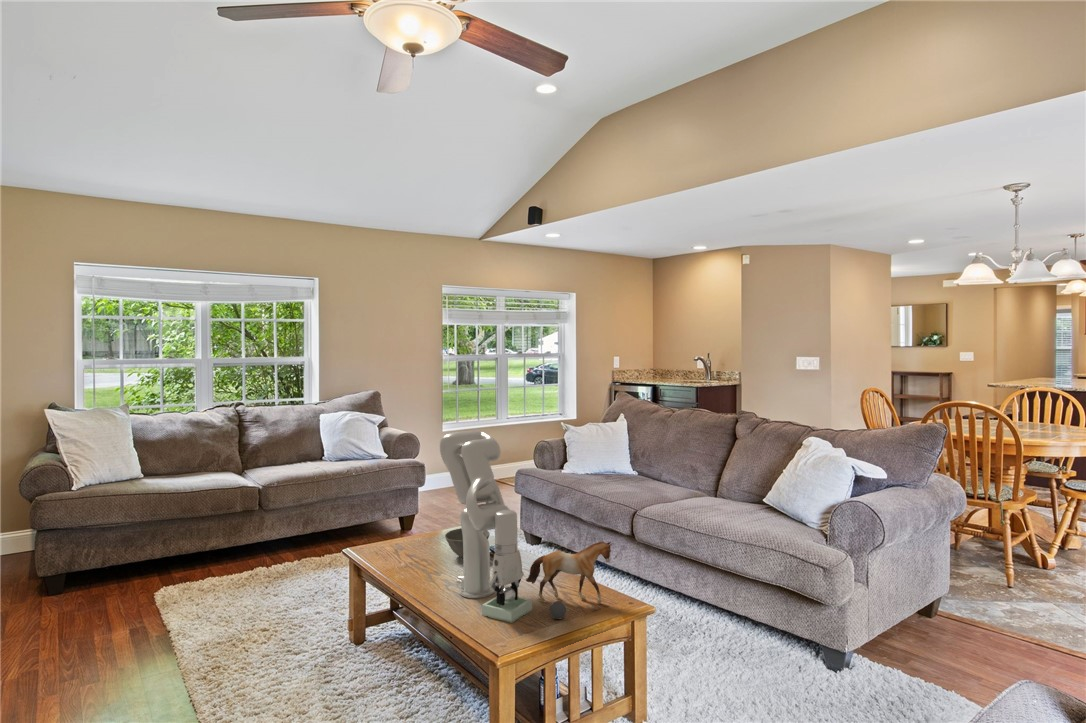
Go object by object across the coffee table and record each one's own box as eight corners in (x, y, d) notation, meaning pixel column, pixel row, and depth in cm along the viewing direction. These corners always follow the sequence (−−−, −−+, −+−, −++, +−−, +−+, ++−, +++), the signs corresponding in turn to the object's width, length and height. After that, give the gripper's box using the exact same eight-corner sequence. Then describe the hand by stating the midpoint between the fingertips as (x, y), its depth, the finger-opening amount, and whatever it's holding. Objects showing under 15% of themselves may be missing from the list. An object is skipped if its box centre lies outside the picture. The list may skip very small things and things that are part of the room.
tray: (481, 615, 215) (481, 604, 215) (503, 602, 225) (503, 592, 225) (511, 623, 209) (511, 612, 209) (531, 610, 219) (531, 599, 219)
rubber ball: (546, 619, 211) (546, 602, 211) (555, 613, 216) (555, 597, 216) (561, 623, 208) (560, 606, 208) (569, 617, 213) (569, 600, 213)
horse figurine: (613, 598, 228) (612, 540, 228) (612, 607, 221) (611, 547, 220) (526, 594, 233) (525, 537, 233) (522, 602, 226) (521, 543, 225)
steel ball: (495, 604, 216) (495, 588, 216) (505, 599, 221) (505, 583, 220) (509, 607, 213) (509, 591, 213) (518, 602, 218) (518, 585, 217)
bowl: (440, 554, 279) (439, 531, 279) (481, 547, 287) (481, 525, 287) (452, 567, 262) (452, 542, 262) (496, 560, 270) (496, 536, 270)
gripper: (495, 556, 208) (496, 612, 208) (532, 544, 220) (533, 597, 221) (479, 551, 213) (480, 606, 213) (516, 540, 225) (517, 591, 226)
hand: (507, 601), depth 217 cm, fingers closed on steel ball, 5 cm apart
